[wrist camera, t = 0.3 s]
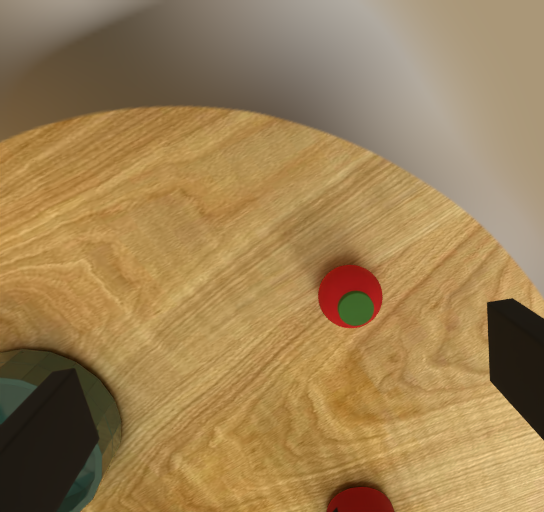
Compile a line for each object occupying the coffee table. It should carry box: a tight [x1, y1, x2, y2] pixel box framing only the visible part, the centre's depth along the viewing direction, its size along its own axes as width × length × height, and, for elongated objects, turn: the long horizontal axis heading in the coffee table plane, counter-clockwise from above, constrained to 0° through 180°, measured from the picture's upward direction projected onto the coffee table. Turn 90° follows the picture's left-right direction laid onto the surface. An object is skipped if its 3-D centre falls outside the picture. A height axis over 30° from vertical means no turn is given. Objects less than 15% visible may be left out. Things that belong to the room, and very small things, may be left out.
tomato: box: [318, 265, 382, 328], centre depth 32 cm, size 5×5×5 cm
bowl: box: [0, 349, 121, 512], centre depth 36 cm, size 15×15×5 cm
